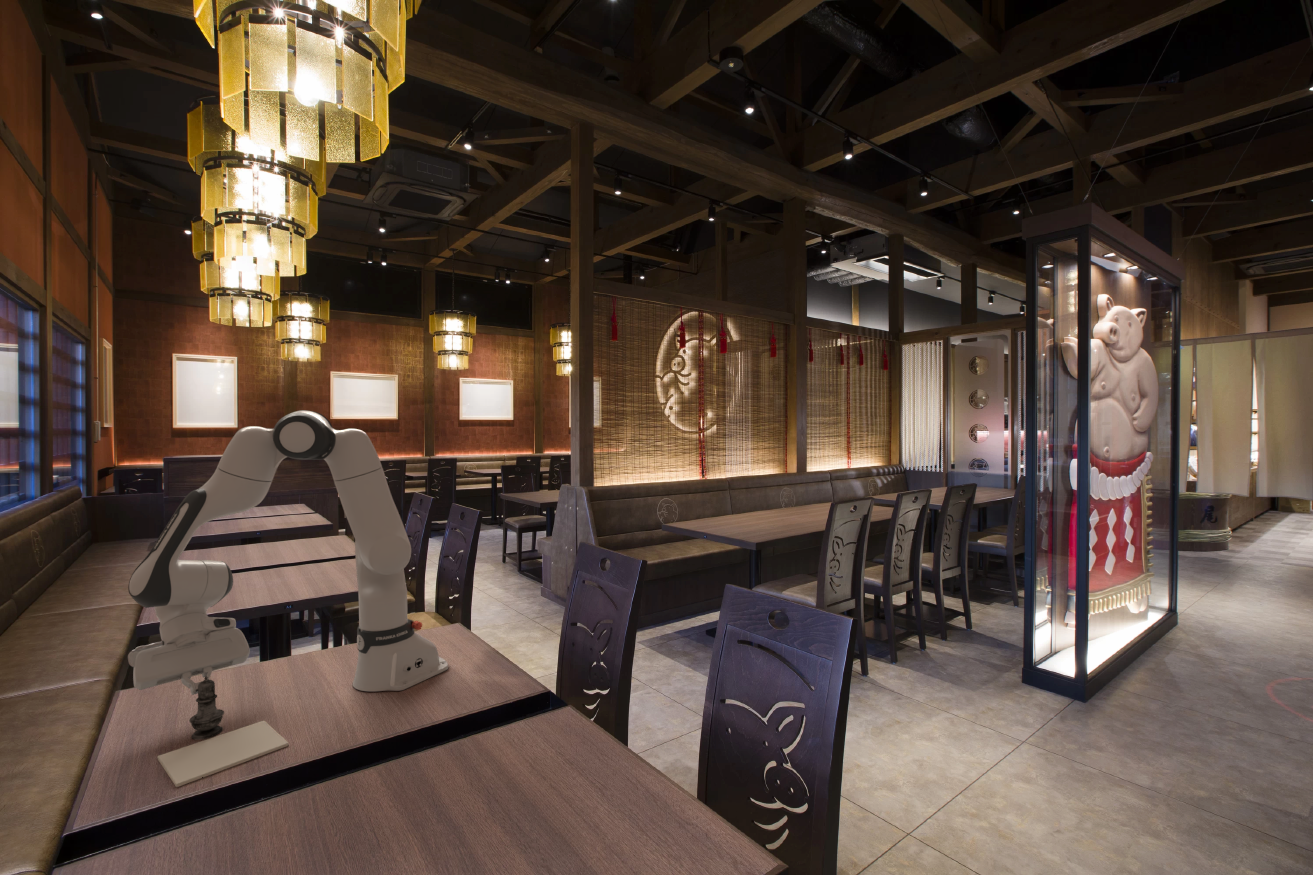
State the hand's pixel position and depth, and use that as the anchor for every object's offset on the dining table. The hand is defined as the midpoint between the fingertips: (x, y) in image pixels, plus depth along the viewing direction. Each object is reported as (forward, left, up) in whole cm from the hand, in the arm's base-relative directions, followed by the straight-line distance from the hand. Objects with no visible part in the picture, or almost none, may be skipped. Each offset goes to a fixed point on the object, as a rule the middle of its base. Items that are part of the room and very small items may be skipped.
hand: (200, 691), depth 129 cm
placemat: (0, +16, -7) cm, 18 cm away
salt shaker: (0, +5, -7) cm, 9 cm away
